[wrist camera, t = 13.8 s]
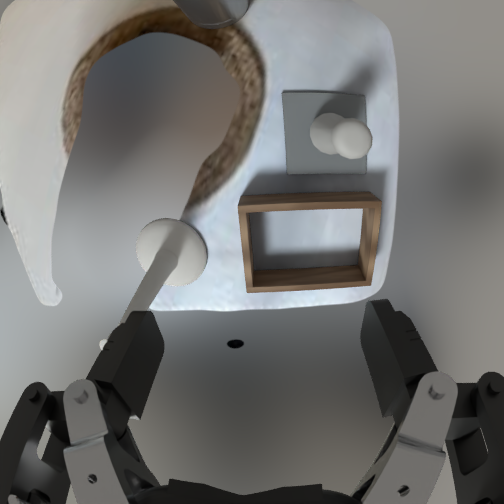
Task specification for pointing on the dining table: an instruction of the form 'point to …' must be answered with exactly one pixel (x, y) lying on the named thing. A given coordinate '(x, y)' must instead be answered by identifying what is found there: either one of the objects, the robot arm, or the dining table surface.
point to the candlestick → (165, 260)
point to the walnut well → (319, 275)
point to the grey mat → (298, 132)
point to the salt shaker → (340, 136)
